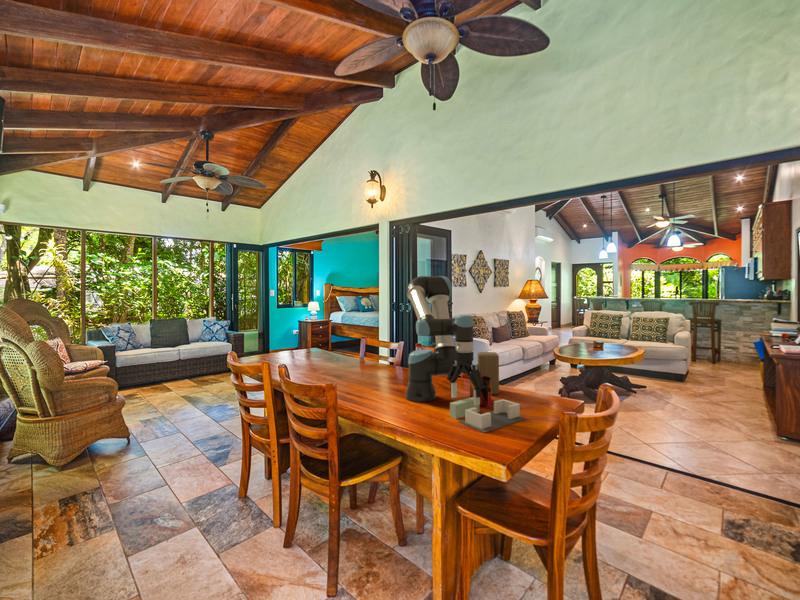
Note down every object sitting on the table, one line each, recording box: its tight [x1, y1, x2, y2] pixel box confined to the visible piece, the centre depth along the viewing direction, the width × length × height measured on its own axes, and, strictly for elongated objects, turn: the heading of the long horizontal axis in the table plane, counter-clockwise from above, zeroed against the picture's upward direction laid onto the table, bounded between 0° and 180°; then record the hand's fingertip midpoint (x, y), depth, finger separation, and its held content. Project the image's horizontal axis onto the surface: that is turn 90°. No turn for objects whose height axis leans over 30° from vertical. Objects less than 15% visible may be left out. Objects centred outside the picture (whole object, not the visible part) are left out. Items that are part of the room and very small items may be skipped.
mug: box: [469, 376, 492, 409], centre depth 165 cm, size 10×14×12 cm
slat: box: [449, 397, 480, 420], centre depth 153 cm, size 4×14×6 cm, turn 124°
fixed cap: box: [464, 407, 491, 429], centre depth 140 cm, size 9×5×5 cm, turn 34°
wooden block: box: [476, 351, 500, 395], centre depth 185 cm, size 10×10×20 cm
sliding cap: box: [493, 398, 521, 419], centre depth 150 cm, size 9×6×5 cm
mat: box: [457, 410, 526, 434], centre depth 145 cm, size 14×24×1 cm, turn 124°
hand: (465, 401), depth 152 cm, fingers open, 13 cm apart
